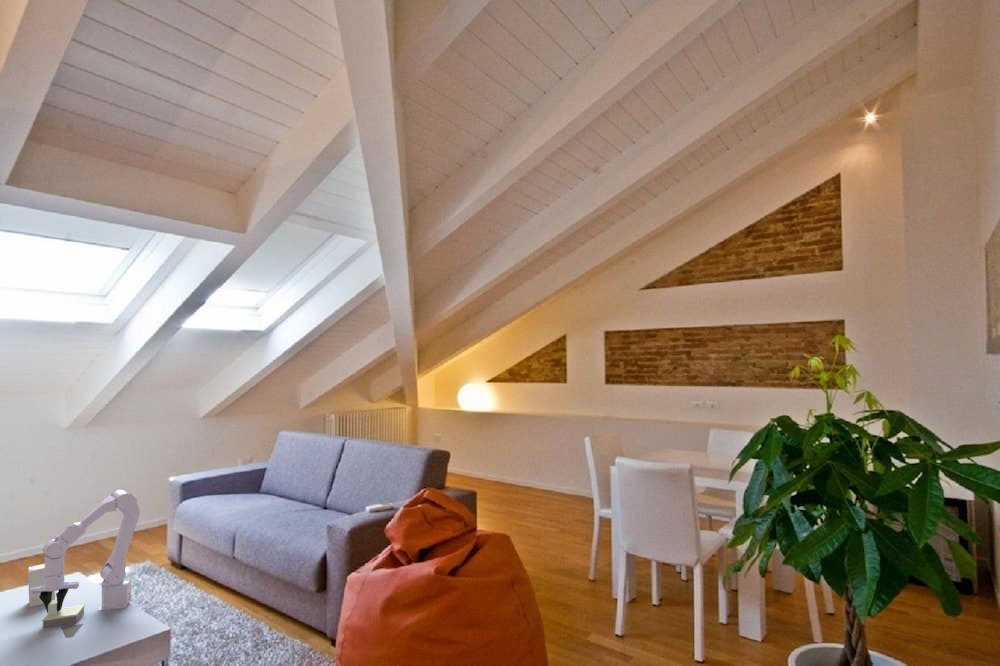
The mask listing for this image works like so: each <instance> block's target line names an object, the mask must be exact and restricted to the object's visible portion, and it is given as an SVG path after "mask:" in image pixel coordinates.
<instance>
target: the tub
mask: <svg viewBox="0 0 1000 666" xmlns="http://www.w3.org/2000/svg"><path fill="white" fill-rule="evenodd" d="M84 614H85V607H84V608H83V609H82V610H81V611H80V613H79V614H78V615H77V616H73V617H66V618H59V619H52V620H45V621H42V628H44V629H45V628H51V627H58V626H68V625H76V624H77V623H78V622H79V621H80V620H81V618H82V617H83V616H84Z"/></svg>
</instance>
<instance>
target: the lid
mask: <svg viewBox="0 0 1000 666" xmlns="http://www.w3.org/2000/svg"><path fill="white" fill-rule="evenodd" d="M85 606H86V604H77V605H72V606H65V607H64V606H62V609H61V610H60V611H57V599H55V600H52V601H51V602H50V603H49V604H48V613H46V614H45V616H43V618H42V619H41V621H42V622H43V621H45V620H52V619H59V618H66V617H73V616H77V615H78V614H79V613H80V611H81V610H82V609H83V608H84V609H85Z"/></svg>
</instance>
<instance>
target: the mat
mask: <svg viewBox="0 0 1000 666" xmlns="http://www.w3.org/2000/svg"><path fill="white" fill-rule="evenodd" d="M83 625H84V623H79V624H77V623H76V624H70V625H63V626H61V627H60V628H61V631H62V633H63V635H64V637H65V639H69V638H73V637H75V635H76V634H77V633H78V631H79V630H80V629H81V627H83Z"/></svg>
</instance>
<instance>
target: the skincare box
mask: <svg viewBox="0 0 1000 666" xmlns="http://www.w3.org/2000/svg"><path fill="white" fill-rule="evenodd" d="M27 570H28V571H27V574H28V575H27V579H28V591H29V590H30V589H31V588H32V587H38V586H43V585H45V563H42V564H37V565H33V566H29V567H28V569H27ZM40 594H41V593H36V594H33V595H29V594H28V601H29V602H28V603H29V605H28V606H29V608H32V607H39V606H42V605H43V606H44V603H43V602H42V600H41V599H40V598H39V596H40ZM52 600H56V591H53V592H52ZM52 600H51V601H52Z"/></svg>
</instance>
